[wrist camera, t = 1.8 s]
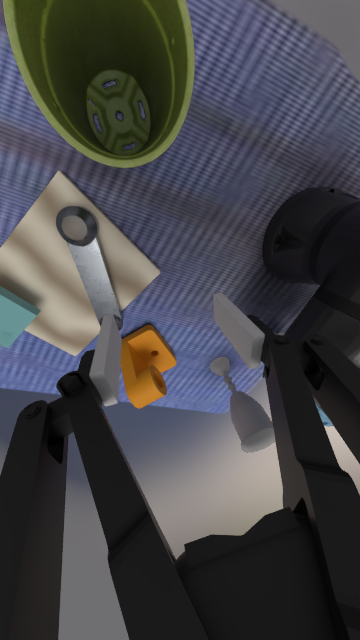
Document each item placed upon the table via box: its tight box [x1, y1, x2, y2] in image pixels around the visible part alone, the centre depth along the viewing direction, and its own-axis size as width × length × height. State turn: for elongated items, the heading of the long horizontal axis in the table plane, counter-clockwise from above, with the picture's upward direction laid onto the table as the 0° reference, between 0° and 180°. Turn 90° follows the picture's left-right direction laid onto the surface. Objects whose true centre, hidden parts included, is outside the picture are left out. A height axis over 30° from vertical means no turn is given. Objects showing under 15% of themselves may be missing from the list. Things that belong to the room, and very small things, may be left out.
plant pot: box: [3, 0, 195, 168], centre depth 18 cm, size 12×12×11 cm
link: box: [56, 206, 123, 330], centre depth 28 cm, size 18×4×2 cm, turn 6°
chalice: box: [210, 357, 275, 452], centre depth 40 cm, size 7×7×18 cm
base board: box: [0, 171, 161, 356], centre depth 28 cm, size 22×17×5 cm
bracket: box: [120, 325, 177, 408], centre depth 35 cm, size 11×7×12 cm, turn 27°
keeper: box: [0, 286, 41, 348], centre depth 27 cm, size 7×6×5 cm
